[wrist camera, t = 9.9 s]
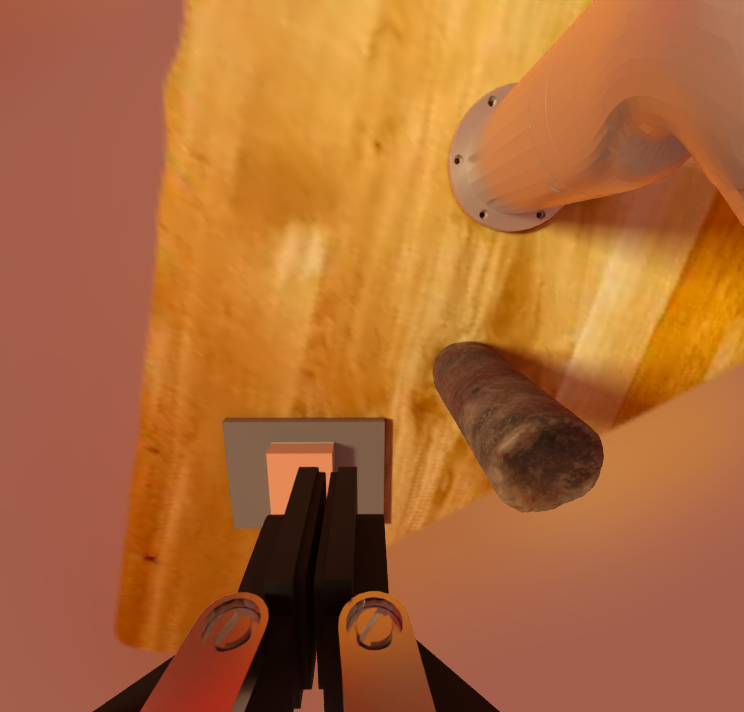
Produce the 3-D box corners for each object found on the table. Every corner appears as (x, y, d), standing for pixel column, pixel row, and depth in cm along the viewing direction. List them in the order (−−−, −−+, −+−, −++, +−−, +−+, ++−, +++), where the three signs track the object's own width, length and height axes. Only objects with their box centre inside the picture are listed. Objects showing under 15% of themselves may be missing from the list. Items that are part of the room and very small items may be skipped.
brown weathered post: (505, 340, 42) (621, 420, 23) (496, 403, 44) (597, 526, 25) (434, 338, 42) (491, 417, 23) (429, 401, 44) (478, 524, 25)
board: (384, 417, 44) (384, 421, 43) (383, 521, 48) (383, 527, 47) (225, 418, 44) (222, 422, 43) (236, 522, 48) (234, 528, 47)
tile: (271, 442, 44) (333, 442, 44) (276, 510, 46) (335, 510, 46) (266, 453, 41) (331, 453, 42) (271, 524, 44) (334, 524, 44)
